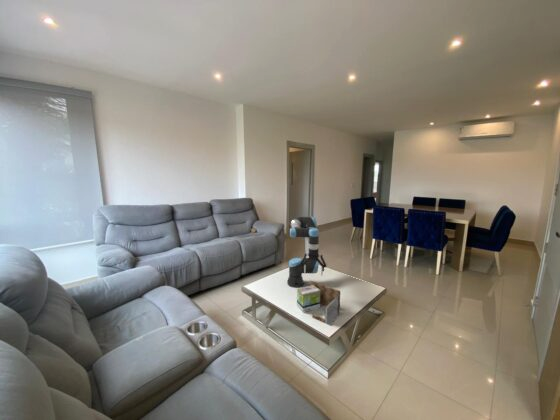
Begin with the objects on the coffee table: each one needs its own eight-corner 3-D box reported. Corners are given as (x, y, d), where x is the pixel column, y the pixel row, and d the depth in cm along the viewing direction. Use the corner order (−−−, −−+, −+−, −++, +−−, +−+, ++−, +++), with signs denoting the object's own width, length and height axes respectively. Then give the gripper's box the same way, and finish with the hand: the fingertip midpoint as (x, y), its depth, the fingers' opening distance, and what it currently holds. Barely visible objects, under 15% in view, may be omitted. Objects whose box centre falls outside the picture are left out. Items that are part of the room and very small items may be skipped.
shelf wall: (296, 310, 172) (296, 290, 169) (309, 298, 187) (309, 280, 184) (327, 324, 156) (328, 303, 153) (339, 310, 171) (340, 290, 168)
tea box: (303, 313, 169) (303, 294, 166) (296, 305, 178) (296, 288, 175) (320, 308, 175) (320, 290, 172) (313, 301, 184) (313, 284, 181)
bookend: (325, 323, 157) (325, 307, 155) (336, 310, 171) (337, 295, 169) (330, 325, 155) (330, 309, 153) (341, 312, 169) (342, 297, 167)
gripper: (296, 248, 178) (296, 273, 182) (329, 251, 171) (328, 278, 175) (299, 245, 185) (298, 269, 189) (330, 248, 178) (329, 273, 182)
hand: (313, 273), depth 182 cm, fingers open, 13 cm apart
